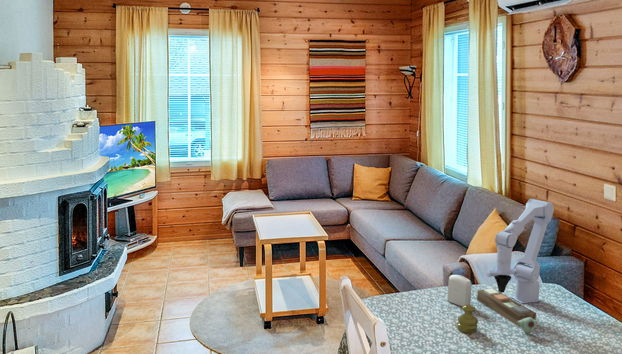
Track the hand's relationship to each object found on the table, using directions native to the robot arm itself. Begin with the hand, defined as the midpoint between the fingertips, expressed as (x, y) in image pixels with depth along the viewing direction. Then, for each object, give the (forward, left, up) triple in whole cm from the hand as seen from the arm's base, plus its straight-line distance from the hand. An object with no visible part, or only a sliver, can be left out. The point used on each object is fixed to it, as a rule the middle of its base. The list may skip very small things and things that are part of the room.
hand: (501, 291), depth 242 cm
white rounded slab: (+14, -9, -8) cm, 18 cm away
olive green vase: (+25, +14, -8) cm, 29 cm away
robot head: (+5, +24, -8) cm, 25 cm away
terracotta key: (0, 0, -4) cm, 4 cm away
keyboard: (0, +3, -7) cm, 8 cm away
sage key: (0, +6, -5) cm, 8 cm away
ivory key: (0, -6, -4) cm, 8 cm away
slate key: (0, +13, -4) cm, 14 cm away
